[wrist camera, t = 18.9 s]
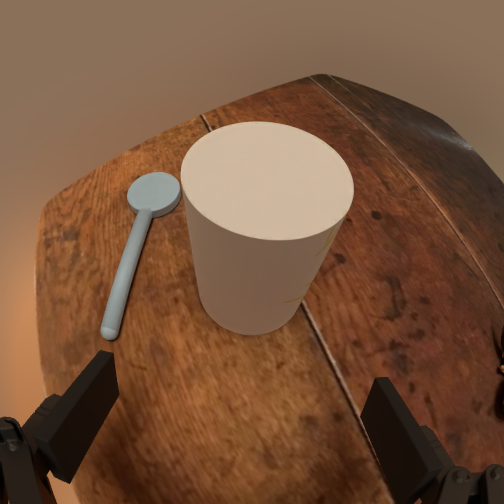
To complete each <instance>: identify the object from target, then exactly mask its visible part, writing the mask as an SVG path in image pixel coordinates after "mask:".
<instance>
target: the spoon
mask: <svg viewBox="0 0 504 504" xmlns="http://www.w3.org/2000/svg"><path fill="white" fill-rule="evenodd" d="M180 198H181V191H180V185H179V182H178V180H177V179H176V178H175V177H174V176H172V175H170V174H167V173H162V172H155V173H150V174H146V175H144V176H142V177H140V178H138V179H137V180H136V181H135V182H134V183H133V184H132V185H131V186H130V188H129V190H128V194H127V199H128V202H129V205H130V208H131V210H132V211H133V212H134V213H135V214H137V216H136V219H135V222H134V224H133V227H132V230H131V232H130V235H129V238H128V241H127V243H126V246H125V249H124V252H123V255H122V258H121V261H120V264H119V267H118V270H117V273H116V276H115V280H114V283H113V286H112V289H111V293H110V296H109V299H108V303H107V306H106V310H105V314H104V317H103V321H102V325H101V329H100V330H101V334H102V336H103V337H104V338H105V339H107V340H113V339H115V338H116V337H117V335H118V332H119V328H120V324H121V320H122V316H123V312H124V308H125V304H126V301H127V297H128V293H129V290H130V286H131V283H132V279H133V276H134V272H135V269H136V266H137V262H138V259H139V256H140V253H141V250H142V246H143V243H144V240H145V237H146V234H147V231H148V228H149V225H150V222H151V219H152V218H155V217H160V216H163V215H165V214H167V213H169V212H170V211H172V210H173V209H174V208H175V207H176V206H177V204H178V203H179V201H180Z"/></svg>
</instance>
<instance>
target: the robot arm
mask: <svg viewBox="0 0 504 504" xmlns="http://www.w3.org/2000/svg"><path fill="white" fill-rule="evenodd" d="M118 396H119V390H118V383H117V377H116V369H115V362H114V353H110V352H106V351H102V350H100V351H99V352H98V353H97V354H96V356H95V357H94V358H93V359H92V360H91V362H90V363H89V364H88V365H87V366H86V368H85V369H84V370H83V371H82V372H81V374H80V375H79V376H78V377H77V378H76V380H75V381H74V382H73V383H72V384H71V386H70V387H69V388H68V389H67V391H66V392H65V393H64V394H63V396H59V395H56V394H53V395H51V396H49V397H48V398H46V399H45V400H44V401H43V402H42V404H41V405H40V407H38V408H37V409H36V410H35V413H33V414H32V415H31V417H30V418H29V419H28V420H27V421H26V423H25V424H24V425H23V426H22V427H20V424H19V423H18V422H17V421H16V420H15V419H14V418H11V417H2V418H0V504H8V499H9V503H10V504H57V502H56V499H55V497H54V494H53V491H52V488H51V485H50V482H49V479H48V477H47V474H48V472H49V470H50V471H51V472H52V474H53V476H54V477H55V478H58V479H59V480H62V481H64V482H66V483H69V484H70V483H71V481H72V479H73V477H74V475H75V473H76V471H77V470H78V468H79V466H80V464H81V462H82V460H83V458H84V457H85V455H86V453H87V451H88V449H89V447H90V446H91V444H92V442H93V440H94V438H95V437H96V435H97V433H98V431H99V429H100V428H101V426H102V424H103V422H104V421H105V419H106V417H107V415H108V414H109V412H110V410H111V408H112V407H113V405H114V403H115V401H116V400H117V398H118ZM360 418H361V420H362V422H363V425H364V427H365V429H366V431H367V434H368V436H369V439H370V441H371V443H372V446H373V448H374V450H375V453H376V455H377V457H378V460H379V462H380V465H381V467H382V469H383V472H384V474H385V477H386V479H387V482H388V484H389V487H390V489H391V492H392V494H393V497H394V499H395V502H396V504H414V503H415V502H416V501H417V499H418V498H419V497H420V499H421V501H422V503H421V504H504V467H502V466H501V465H498V464H492V465H490V466H488V467H487V468H486V470H485V471H484V472H481V473H470V471H469V470H467V469H466V468H464V467H460V466H455V464H454V463H453V461H452V460H451V458H450V457H449V455H448V453H447V452H446V450H445V449H444V447H443V446H442V444H441V442H440V441H439V440H438V438H437V436H436V435H435V433H434V432H433V431H432V430H431V429H430V428H428V427H427V426H426V425H425V426H419V425H418V423H417V421H416V420H415V418H414V417H413V415H412V414H411V412H410V410H409V409H408V407H407V406H406V404H405V403H404V401H403V400H402V398H401V396H400V395H399V393H398V392H397V390H396V389H395V387H394V386H393V384H392V383H391V381H390V380H389V378H388V377H378V378H375V379H374V382H373V385H372V388H371V390H370V393H369V395H368V398H367V401H366V403H365V406H364V408H363V411H362V413H361V415H360Z"/></svg>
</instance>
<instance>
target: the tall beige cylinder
mask: <svg viewBox="0 0 504 504" xmlns="http://www.w3.org/2000/svg"><path fill="white" fill-rule="evenodd" d="M181 182H182V190H183V197H184V204H185V211H186V218H187V225H188V231H189V238H190V244H191V250H192V256H193V262H194V268H195V274H196V279H197V285H198V290H199V296H200V300H201V303H202V305H203V307H204V309H205V311H206V312H207V314H208V315H209V316H210V317H211V318H212V319H213V320H214V321H215V322H216V323H217V324H218V325H220V326H221V327H223V328H225V329H227V330H229V331H231V332H234V333H237V334H242V335H262V334H266V333H270V332H272V331H275V330H277V329H279V328H280V327H282V326H283V325H285V324H286V323H287V322H288V321H289V320H290V319H291V318H292V317H293V315H294V314H295V312H296V311H297V309H298V307H299V305H300V303H301V302H302V300H303V298H304V296H305V294H306V292H307V290H308V289H309V287H310V285H311V283H312V281H313V279H314V277H315V275H316V273H317V272H318V270H319V268H320V266H321V264H322V262H323V260H324V258H325V256H326V254H327V252H328V250H329V248H330V246H331V244H332V242H333V240H334V238H335V236H336V234H337V232H338V230H339V228H340V226H341V224H342V222H343V220H344V218H345V216H346V214H347V212H348V209H349V207H350V205H351V203H352V199H353V193H354V186H353V180H352V176H351V173H350V171H349V169H348V167H347V165H346V164H345V162H344V161H343V159H342V158H341V157H340V156H339V155H338V153H337V152H336V151H335V150H334V149H332V148H331V147H330V146H329V145H328V144H326V143H325V142H323V141H322V140H320V139H319V138H317V137H315V136H313V135H312V134H309V133H307V132H305V131H303V130H300V129H297V128H294V127H291V126H287V125H283V124H278V123H270V122H244V123H237V124H232V125H228V126H225V127H222V128H219V129H217V130H214V131H212V132H210V133H208V134H207V135H205V136H203V137H202V138H201V139H199V140H198V141H197V142H196V143H195V144H194V145H193V146H192V147H191V148H190V150H189V151H188V152H187V154H186V156H185V158H184V160H183V163H182V167H181Z"/></svg>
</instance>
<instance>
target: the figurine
mask: <svg viewBox="0 0 504 504" xmlns="http://www.w3.org/2000/svg"><path fill="white" fill-rule="evenodd" d="M501 346H502V349H503V356H502V357H503V358H504V327H503V329H502V336H501ZM500 369H501V371H502V372H503V373H504V360H503V366H502V365H501V366H500ZM501 408H502V411H503V413H504V396H503V400H502V407H501Z"/></svg>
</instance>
